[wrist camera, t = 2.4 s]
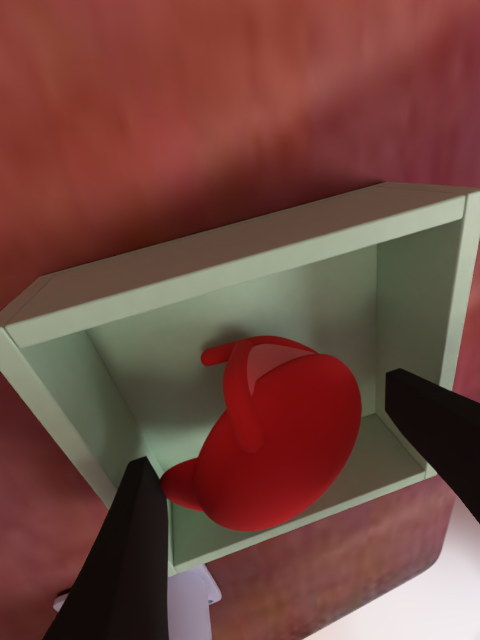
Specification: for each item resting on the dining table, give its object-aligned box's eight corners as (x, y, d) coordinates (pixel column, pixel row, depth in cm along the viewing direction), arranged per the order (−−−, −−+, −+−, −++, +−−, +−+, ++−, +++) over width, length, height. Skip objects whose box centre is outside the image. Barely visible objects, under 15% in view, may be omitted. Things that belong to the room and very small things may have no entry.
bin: (163, 489, 17) (163, 580, 14) (38, 276, 11) (-30, 335, 7) (381, 411, 19) (437, 475, 15) (387, 181, 12) (490, 187, 8)
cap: (278, 277, 11) (295, 405, 6) (370, 363, 13) (438, 510, 8) (157, 383, 15) (106, 519, 10) (246, 437, 17) (241, 572, 12)
